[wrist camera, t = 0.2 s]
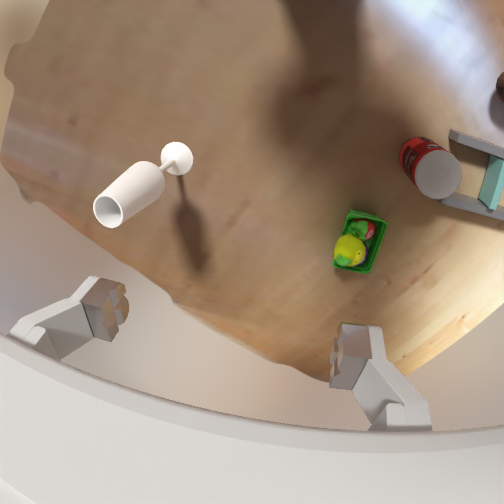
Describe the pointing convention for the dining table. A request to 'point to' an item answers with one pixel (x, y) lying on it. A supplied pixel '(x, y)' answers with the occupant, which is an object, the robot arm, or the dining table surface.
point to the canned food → (430, 167)
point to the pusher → (493, 182)
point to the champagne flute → (140, 185)
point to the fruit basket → (359, 242)
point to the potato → (500, 86)
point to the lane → (466, 201)
